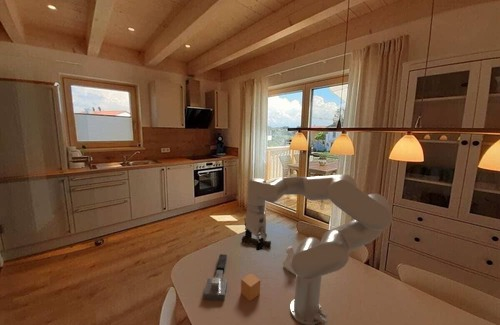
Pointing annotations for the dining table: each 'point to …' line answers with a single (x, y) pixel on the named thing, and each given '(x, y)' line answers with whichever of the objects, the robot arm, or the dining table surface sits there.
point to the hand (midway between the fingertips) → (253, 243)
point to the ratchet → (217, 282)
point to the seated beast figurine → (289, 260)
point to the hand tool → (255, 242)
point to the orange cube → (250, 286)
